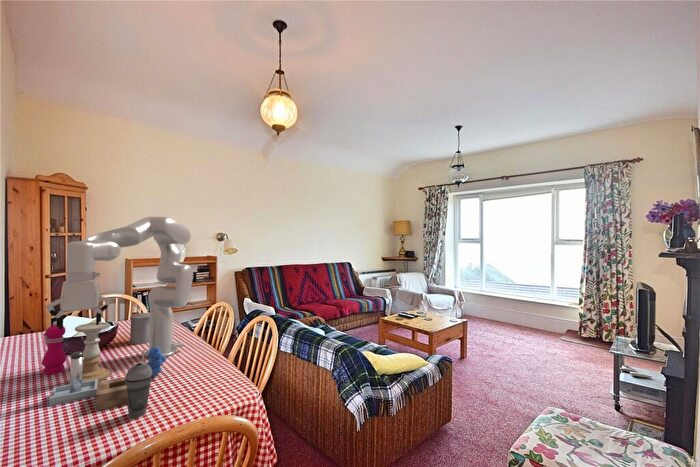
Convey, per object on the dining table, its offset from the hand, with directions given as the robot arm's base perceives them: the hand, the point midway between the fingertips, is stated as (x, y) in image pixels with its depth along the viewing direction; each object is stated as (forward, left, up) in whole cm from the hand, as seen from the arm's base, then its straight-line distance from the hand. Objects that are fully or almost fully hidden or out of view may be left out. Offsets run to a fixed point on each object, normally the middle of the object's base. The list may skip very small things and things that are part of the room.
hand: (79, 326), depth 110 cm
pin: (0, 0, -23) cm, 23 cm away
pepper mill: (+9, -29, -24) cm, 38 cm away
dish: (0, 0, -24) cm, 24 cm away
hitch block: (-11, +11, -24) cm, 28 cm away
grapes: (-24, -3, -24) cm, 34 cm away
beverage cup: (-16, +25, -24) cm, 38 cm away
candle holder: (-3, -14, -24) cm, 28 cm away
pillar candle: (-22, -54, -24) cm, 63 cm away
